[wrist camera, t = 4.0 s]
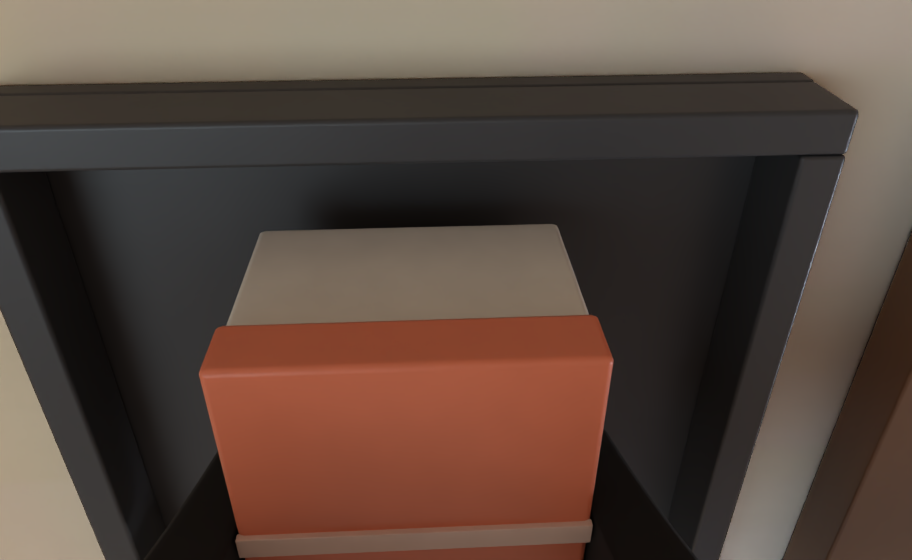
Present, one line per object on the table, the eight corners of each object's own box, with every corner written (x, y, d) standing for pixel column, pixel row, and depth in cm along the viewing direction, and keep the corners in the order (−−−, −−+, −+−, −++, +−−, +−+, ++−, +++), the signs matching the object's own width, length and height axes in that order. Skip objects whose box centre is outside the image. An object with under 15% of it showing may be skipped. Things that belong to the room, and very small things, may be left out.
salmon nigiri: (528, 558, 14) (558, 745, 11) (315, 568, 13) (291, 760, 11) (559, 207, 10) (618, 362, 7) (256, 214, 9) (193, 378, 7)
